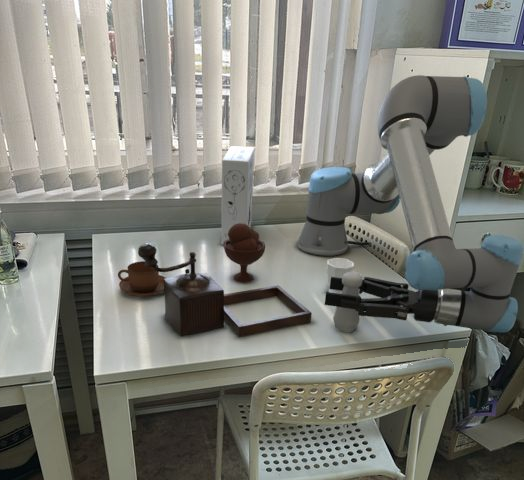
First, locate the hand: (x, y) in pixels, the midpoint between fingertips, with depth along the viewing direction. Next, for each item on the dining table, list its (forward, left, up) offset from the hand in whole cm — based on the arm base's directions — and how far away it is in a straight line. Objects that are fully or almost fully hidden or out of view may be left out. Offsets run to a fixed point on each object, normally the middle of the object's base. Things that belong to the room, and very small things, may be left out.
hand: (328, 290), depth 113 cm
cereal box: (-7, -63, -9) cm, 64 cm away
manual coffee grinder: (+29, -12, -9) cm, 33 cm away
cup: (-13, -15, -9) cm, 21 cm away
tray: (+11, -10, -8) cm, 17 cm away
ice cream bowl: (+6, -30, -9) cm, 32 cm away
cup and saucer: (+32, -32, -9) cm, 46 cm away
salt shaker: (-4, +3, -9) cm, 10 cm away
